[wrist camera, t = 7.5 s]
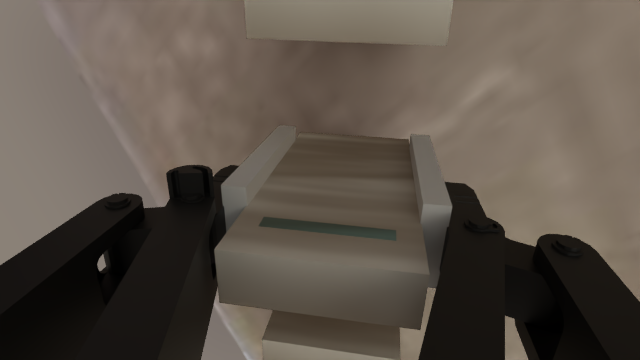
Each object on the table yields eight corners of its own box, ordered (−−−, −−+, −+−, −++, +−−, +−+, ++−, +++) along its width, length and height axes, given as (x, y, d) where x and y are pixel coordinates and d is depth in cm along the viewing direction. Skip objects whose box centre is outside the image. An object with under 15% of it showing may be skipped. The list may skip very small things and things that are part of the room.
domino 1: (315, -12, 18) (242, -33, 9) (423, -10, 18) (457, -30, 9) (314, 24, 19) (246, 38, 10) (418, 27, 18) (446, 45, 9)
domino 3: (311, 211, 23) (262, 339, 14) (396, 219, 23) (400, 360, 13) (311, 234, 24) (263, 370, 15) (393, 243, 23) (395, 392, 14)
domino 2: (300, 131, 18) (214, 249, 9) (408, 139, 18) (430, 274, 8) (300, 163, 19) (219, 303, 10) (404, 172, 18) (420, 330, 9)
